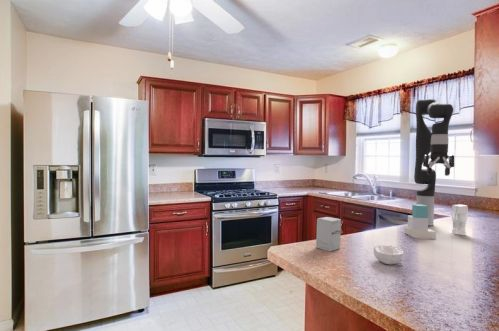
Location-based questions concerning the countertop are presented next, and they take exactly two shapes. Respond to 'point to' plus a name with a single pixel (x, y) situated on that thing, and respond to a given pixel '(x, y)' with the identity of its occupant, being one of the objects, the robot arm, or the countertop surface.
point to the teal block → (419, 210)
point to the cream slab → (421, 233)
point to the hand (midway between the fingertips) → (438, 175)
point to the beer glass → (459, 219)
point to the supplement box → (328, 233)
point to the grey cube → (417, 223)
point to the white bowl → (388, 254)
